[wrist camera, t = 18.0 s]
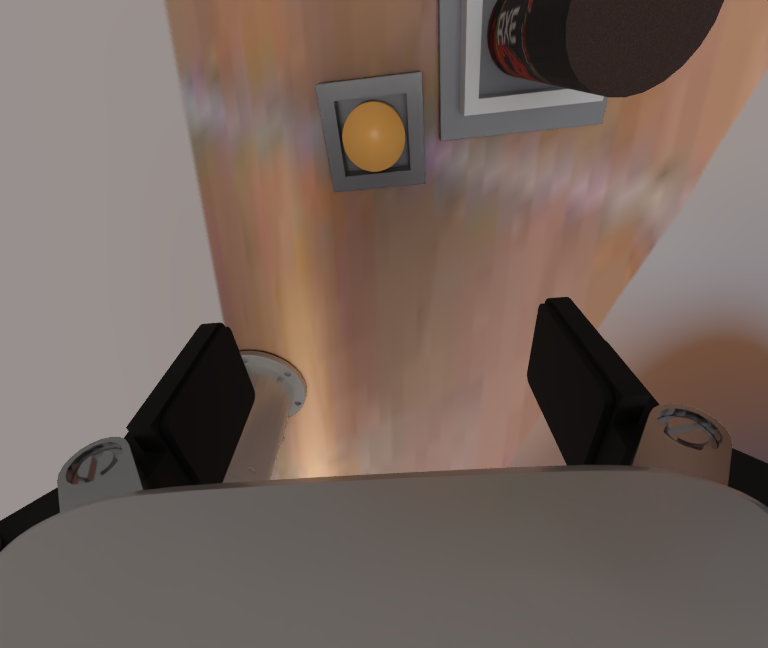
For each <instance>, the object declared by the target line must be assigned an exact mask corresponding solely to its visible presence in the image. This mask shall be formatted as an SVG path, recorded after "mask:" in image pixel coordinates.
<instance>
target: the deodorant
mask: <svg viewBox="0 0 768 648" xmlns="http://www.w3.org/2000/svg"><path fill="white" fill-rule="evenodd" d="M723 2H724V0H497V2H496V4H495V5H494V7H493V10H492V13H491V16H490V19H489V23H488V30H487V42H488V49H489V52H490V55H491V59H492V60H493V62H494V63H495V65H496V66H497V68H499V69H500V70H501V71H502V72H504V73H505V74H507V75H510V76H513V77H517V78H521V79H526V80H531V81H535V82H540V83H544V84H549V85H554V86H558V87H563V88H567V89H572V90H577V91H581V92H586V93H590V94H595V95H600V96H604V97H628V96H631V95H635V94H639V93H642V92H645V91H647V90H649V89H650V88H652V87H654V86H656V85H658V84H660V83H662V82H663V81H665V80H666V79H667V78H668V77H670V76H671V75H672V74H673V73H675V72H676V71H677V70H678V69H679V68H681V67H682V66H683V65H684V64H685V63H686V61H687V60H688V59H689V58H690V57H691V56H692V55H693V53H694V52H695V51H696V50H697V49H698V48H699V47H700V45H701V44H702V42H703V40H704V39H705V37H706V36H707V34H708V33H709V31H710V29H711V28H712V26H713V25H714V23H715V21H716V18H717V16H718V14H719V11H720V9H721V6H722V4H723Z"/></svg>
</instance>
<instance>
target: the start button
mask: <svg viewBox="0 0 768 648" xmlns="http://www.w3.org/2000/svg"><path fill="white" fill-rule="evenodd" d="M342 139H343V146H344V149H345V152H346V154H347V155H348V157H349V159H350V160H351V161H352V162H353V163H354V164H355V165H356V166H358V167H359V168H361V169H363V170H366V171H371V172H378V171H382V170H385V169H387V168H389V167H391V166H392V165H393V164H394V163H395V162H396V161H397V160H398V159H399V157H400V156H401V154H402V151H403V149H404V145H405V131H404V125H403V122H402V119H401V117H400V115H399V113H398V112H397V111H396V110H395V108H394V107H392V106H391V105H390V104H388V103H386V102H384V101H381V100H368V101H365V102H362V103H360V104H359V105H357V106H356V107H355V108H354V109H353V110H352V112H351V113H350V114H349V116H348V118H347V119H346V121H345V124H344V127H343V133H342Z"/></svg>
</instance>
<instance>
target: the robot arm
mask: <svg viewBox="0 0 768 648" xmlns="http://www.w3.org/2000/svg"><path fill="white" fill-rule="evenodd" d="M527 378H528V383H529V385H530V387H531V389H532V392H533V394H534V396H535V398H536V400H537V402H538V404H539V407H540V409H541V411H542V413H543V415H544V417H545V419H546V421H547V423H548V426H549V428H550V430H551V432H552V434H553V436H554V439H555V440H556V443H557V445H558V447H559V449H560V451H561V453H562V456H563V458H564V460H565V462H566V464H567V465H566V466H538V467H537V466H536V467H511V468H490V469H469V470H449V471H428V472H409V473H390V474H371V475H353V476H334V477H316V478H299V479H282V480H270V479H271V475H272V472H273V468H274V465H275V461H276V458H277V454H278V451H279V447H280V444H281V442H283V441H284V439H285V437H284V434H283V433H284V430H285V426H286V423H287V419H288V418H289V417H291V416H293V415H294V414H296V413H297V412H298V411H299V410H300V409H301V408H302V406H303V404H304V402H305V398H306V393H307V391H306V384H305V381H304V379H303V378H302V376H301V374H300V373H299V372H298V371H297V370H296V369H295V368H294V367H293V366H292V365H291V364H289V363H288V362H286V361H285V360H283V359H281V358H279V357H276V356H274V355H272V354H268V353H264V352H258V351H240V352H239V349H238V346H237V344H236V341H235V339H234V336H233V334H232V331H231V329H230V328H229V327H225V325H224V324H223V323H210V324H201V325H200V326H199V328H198V329H197V330H196V332H195V333H194V335H193V336H192V337H191V339H190V340H189V342H188V343H187V344H186V346H185V347H184V348H183V350H182V351H181V352H180V354H179V355H178V357H177V358H176V360H175V361H174V362H173V364H172V365H171V366H170V368H169V369H168V370H167V372H166V373H165V375H164V376H163V377H162V379H161V380H160V382H159V383H158V384H157V386H156V387H155V389H154V390H153V391H152V393H151V394H150V395H149V397H148V398H147V399H146V401H145V402H144V404H143V405H142V406H141V408H140V409H139V411H138V412H137V413H136V415H135V416H134V417H133V419H132V420H131V422H130V423H129V424H128V426H127V427H126V428H127V429H128V431H129V432H128V433H127V435H126V436H125V437H124V439H123V438H121V437H109V438H105V439H101V440H98V441H96V442H93V443H91V444H89V445H88V446H86V447H84V448H83V449H81V450H79V451H78V452H77V453H76V454H74V456H72V457H71V458H70V459H69V460H68V461H67V462H66V463H65V465H64V466H63V467H62V469H61V471H60V473H59V475H58V480H57V483H58V488H56V489H54V490H52V491H51V492H49V493H47V494H46V495H44V496H42V497H40V498H39V499H37V500H35V501H33V502H32V503H30V504H28V505H27V506H25V507H23V508H22V509H20V510H18V511H16V512H15V513H13V514H11V515H9V516H8V517H6V518H4V519H3V520H1V521H0V648H768V463H765V462H763V461H761V460H758V459H756V458H754V457H752V456H749V455H747V454H745V453H742V452H740V451H737V450H735V449H733V448H732V439H731V436H730V434H729V433H728V431H727V430H726V428H725V427H724V426H723V425H722V424H720V423H719V422H718V421H717V420H716V419H714V418H713V417H711V416H710V415H708V414H707V413H705V412H702V411H700V410H698V409H696V408H693V407H689V406H686V405H682V404H672V403H668V404H661V405H659V403H658V402H657V401H656V400H655V399H654V397H653V396H652V395H651V394H650V393H649V391H648V390H647V389H646V388H645V387H644V385H643V384H642V383H641V382H640V381H639V379H638V378H637V377H636V376H635V375H634V373H633V372H632V371H631V370H630V369H629V367H628V366H627V365H626V364H625V363H624V361H623V360H622V359H621V358H620V357H619V355H618V354H617V353H616V352H615V351H614V350H613V348H612V347H611V346H610V345H609V343H608V342H606V341H605V340H604V339H603V338H602V336H601V335H600V334H599V333H598V331H597V330H596V329H595V328H594V327H593V325H592V324H591V323H590V322H589V321H588V319H587V318H586V317H585V316H584V315H583V313H582V312H581V311H580V310H579V308H578V307H577V306H576V305H575V304H574V302H573V301H572V300H571V299H570V298H569V297H560V298H548V299H546V301H545V304H540V305H539V308H538V314H537V319H536V325H535V331H534V337H533V342H532V348H531V354H530V360H529V365H528V371H527Z"/></svg>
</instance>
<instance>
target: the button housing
mask: <svg viewBox="0 0 768 648" xmlns="http://www.w3.org/2000/svg"><path fill="white" fill-rule="evenodd" d="M315 87H316V93H317V98H318V104H319V110H320V115H321V121H322V127H323V132H324V138H325V143H326V149H327V155H328V160H329V166H330V172H331V177H332V183H333V189H334V192H343V191H353V190H363V189H373V188H384V187H394V186H404V185H414V184H425V158H424V129H423V99H422V72H421V71H414V72H406V73H398V74H389V75H381V76H373V77H364V78H356V79H348V80H340V81H331V82H323V83H318V84H316V85H315ZM368 100H381V101H384V102H386V103H388V104H390V105H391V106H392V107H394V108H395V110H396V111H397V112H398V113H399V115H400V117H401V119H402V122H403V125H404V131H405V145H404V149H403V151H402V154H401V156H400V157H399V159H398V160H397V161H396V162H395V163H394V164H393V165H392V166H391V167H389V168H387V169H385V170H382V171H378V172H371V171H366V170H363V169H361V168H359V167H358V166H356V165H355V164H354V163H353V162H352V161H351V160H350V159H349V157H348V155H347V154H346V152H345V149H344V146H343V139H342V133H343V127H344V124H345V121H346V119H347V118H348V116H349V114H350V113H351V112H352V110H353V109H354V108H355V107H356V106H357V105H359V104H360V103H362V102H365V101H368Z"/></svg>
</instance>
